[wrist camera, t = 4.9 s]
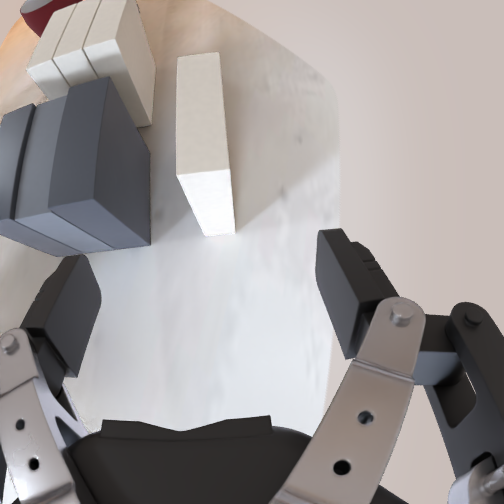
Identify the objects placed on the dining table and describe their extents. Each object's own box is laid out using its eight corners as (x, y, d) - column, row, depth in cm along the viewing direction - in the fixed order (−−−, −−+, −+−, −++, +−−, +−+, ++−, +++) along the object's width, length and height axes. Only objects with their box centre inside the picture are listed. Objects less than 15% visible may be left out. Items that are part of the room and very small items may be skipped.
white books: (81, 140, 28) (25, 70, 16) (92, 81, 30) (53, 11, 18) (152, 125, 28) (115, 38, 17) (156, 66, 30) (132, -15, 18)
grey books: (56, 257, 26) (-24, 225, 15) (62, 170, 27) (1, 113, 16) (150, 245, 26) (93, 199, 15) (150, 152, 28) (110, 75, 17)
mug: (112, 11, 33) (95, -37, 23) (112, 38, 31) (91, -17, 22) (50, 38, 32) (26, -4, 22) (44, 68, 31) (14, 22, 21)
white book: (204, 236, 26) (175, 175, 15) (199, 147, 28) (177, 55, 16) (236, 233, 26) (230, 169, 15) (227, 144, 28) (220, 50, 16)
